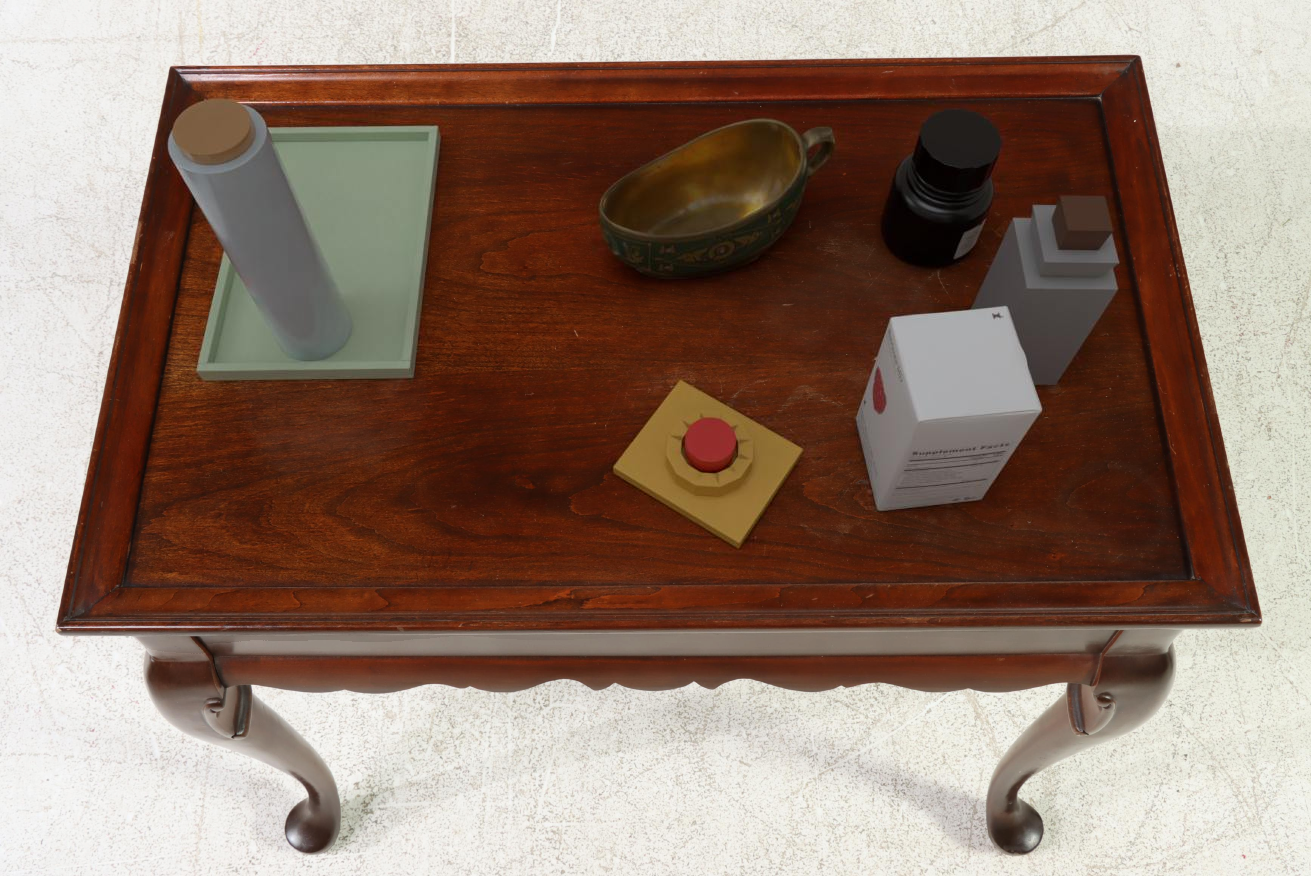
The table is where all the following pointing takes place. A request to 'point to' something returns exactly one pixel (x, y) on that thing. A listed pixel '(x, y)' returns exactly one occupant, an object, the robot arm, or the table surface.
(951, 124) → the ink bottle
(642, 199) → the cup
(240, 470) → the table surface
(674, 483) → the block
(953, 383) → the white product box
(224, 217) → the grey cylinder
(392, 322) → the tray
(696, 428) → the button
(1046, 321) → the perfume bottle
